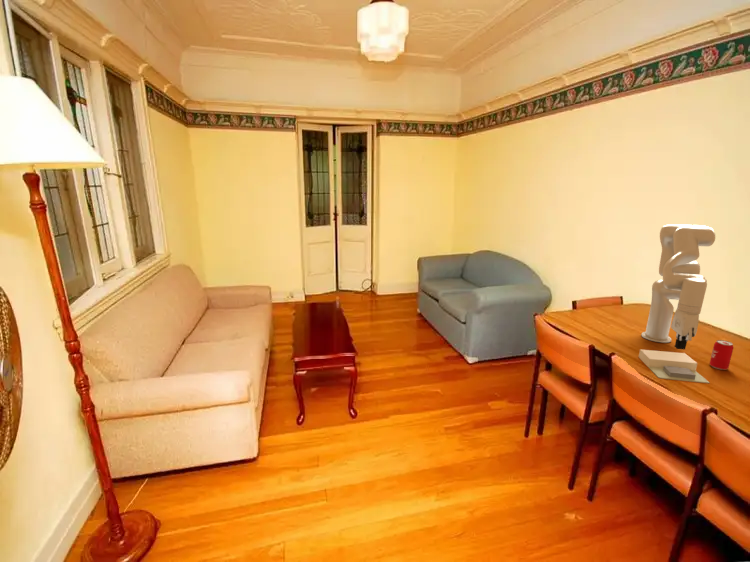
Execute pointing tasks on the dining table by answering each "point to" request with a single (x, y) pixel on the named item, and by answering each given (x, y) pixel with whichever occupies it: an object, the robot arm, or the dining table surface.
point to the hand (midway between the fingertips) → (679, 348)
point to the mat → (663, 375)
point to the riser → (667, 359)
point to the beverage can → (721, 354)
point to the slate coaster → (679, 372)
